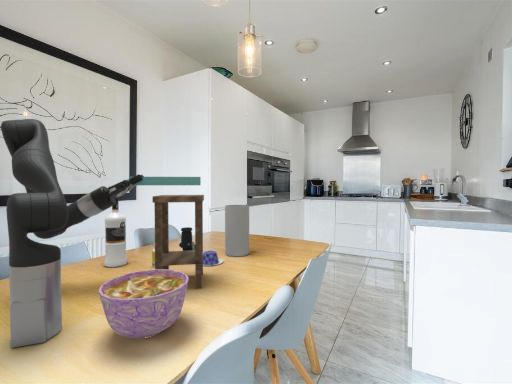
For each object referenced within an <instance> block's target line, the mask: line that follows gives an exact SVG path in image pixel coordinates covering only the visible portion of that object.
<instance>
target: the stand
mask: <svg viewBox="0 0 512 384" xmlns="http://www.w3.org/2000/svg"><path fill="white" fill-rule="evenodd" d="M204 201H205V195H204V194H161V195H160V194H159V195H154V196H152V203H154V244H155V247H154V248H155V267H154V270H156V269H166V270H170V266H185V265H186V266H188V265H189V266H190V265H194V267H195V272H194V273H195V277H194V278H195V283H194V284H195V286H194V287H195V289H196V290H199V289H202V288H203V287H202V284H203V281H202V280H203V278H202V276H204V265H203V253H204V242H203V241H204V239H203V238H204V237H203V235H204V234H203V230H204V229H203V227H204V226H203V223H204V221H203V219H204V218H203V216H204V215H203V211H204V209H203V208H204V206H203V205H204V204H203V202H204ZM169 203H194V224H195V225H194V229H195V230H194V240H195V241H194V244H195V250H191V251H183V250H175V251H174V250H171V251H170V250H169V249H170V247H169V244H170V242H169V240H170V239H169V233H170V232H169V231H170V230H169Z"/></svg>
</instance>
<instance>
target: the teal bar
mask: <svg viewBox="0 0 512 384" xmlns="http://www.w3.org/2000/svg"><path fill="white" fill-rule="evenodd" d="M133 177H134V176H129V177H128V179H129V180H130V179H131V178H133ZM201 177H202V176H144V177H142V178H143V180H141V181H139V182H138V183H136V184H134V185H136V186H201V181H202V179H201ZM132 185H133V184H132Z"/></svg>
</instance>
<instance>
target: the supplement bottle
mask: <svg viewBox="0 0 512 384" xmlns="http://www.w3.org/2000/svg"><path fill="white" fill-rule="evenodd" d="M153 247H154V248H153V249H152V250H151V252H152V253H151V267H153V268H155V243H153Z"/></svg>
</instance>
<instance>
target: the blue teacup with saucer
mask: <svg viewBox="0 0 512 384" xmlns="http://www.w3.org/2000/svg"><path fill="white" fill-rule="evenodd" d="M223 263H224V260H223V259H222V258H219V257H218V253H217V251H216V250H206V251H203V267H205V266H206V267H207V266H208V267H209V266H217V265H220V264H223Z"/></svg>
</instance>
